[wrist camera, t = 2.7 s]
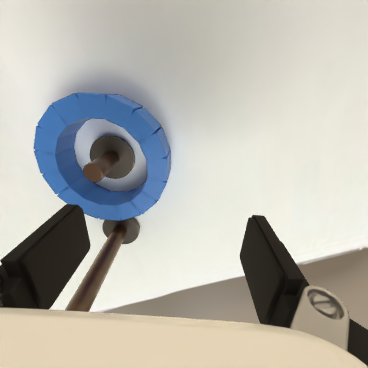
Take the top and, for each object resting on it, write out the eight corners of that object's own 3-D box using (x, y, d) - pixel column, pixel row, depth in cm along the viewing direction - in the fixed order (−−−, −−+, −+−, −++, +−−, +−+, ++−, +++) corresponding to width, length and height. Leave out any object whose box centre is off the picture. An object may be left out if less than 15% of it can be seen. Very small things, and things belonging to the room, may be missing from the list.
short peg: (133, 136, 20) (116, 148, 16) (136, 177, 22) (121, 198, 18) (89, 134, 20) (60, 145, 16) (96, 174, 22) (72, 194, 18)
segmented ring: (171, 97, 18) (167, 97, 15) (169, 208, 24) (166, 223, 21) (42, 90, 19) (14, 89, 16) (70, 202, 24) (53, 216, 21)
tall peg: (138, 213, 24) (80, 339, 12) (140, 241, 26) (92, 373, 14) (102, 211, 25) (6, 333, 12) (107, 239, 27) (29, 368, 14)
